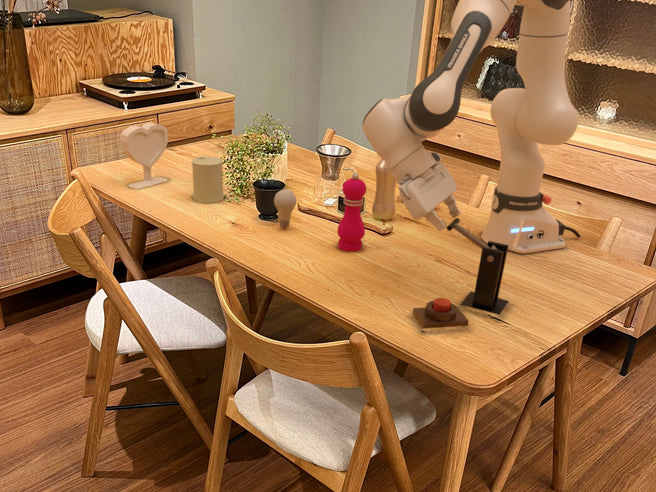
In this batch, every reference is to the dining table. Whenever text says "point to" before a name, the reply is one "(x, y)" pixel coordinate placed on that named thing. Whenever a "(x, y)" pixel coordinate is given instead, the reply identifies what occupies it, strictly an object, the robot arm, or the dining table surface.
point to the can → (207, 179)
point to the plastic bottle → (384, 193)
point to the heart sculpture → (145, 149)
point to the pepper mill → (352, 215)
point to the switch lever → (468, 234)
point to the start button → (442, 305)
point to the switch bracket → (489, 280)
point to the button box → (439, 317)
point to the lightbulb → (285, 206)
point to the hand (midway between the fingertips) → (450, 222)
